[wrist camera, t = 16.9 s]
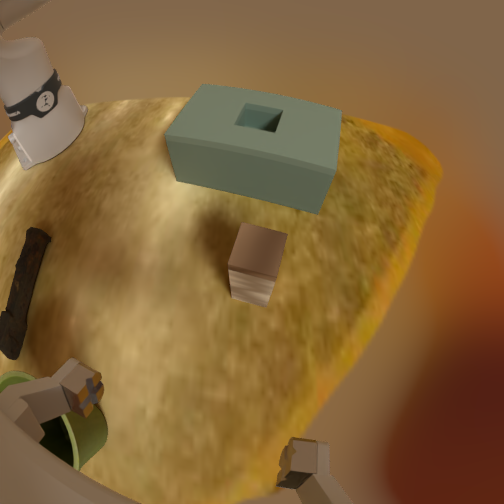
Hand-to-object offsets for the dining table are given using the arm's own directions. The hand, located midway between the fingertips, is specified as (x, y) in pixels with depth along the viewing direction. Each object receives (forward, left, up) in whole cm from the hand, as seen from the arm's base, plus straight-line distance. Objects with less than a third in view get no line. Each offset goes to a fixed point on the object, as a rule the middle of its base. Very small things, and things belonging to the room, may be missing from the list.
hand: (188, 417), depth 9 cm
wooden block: (-3, +12, -19) cm, 23 cm away
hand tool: (-29, -7, -20) cm, 35 cm away
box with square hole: (-12, +28, -19) cm, 36 cm away
